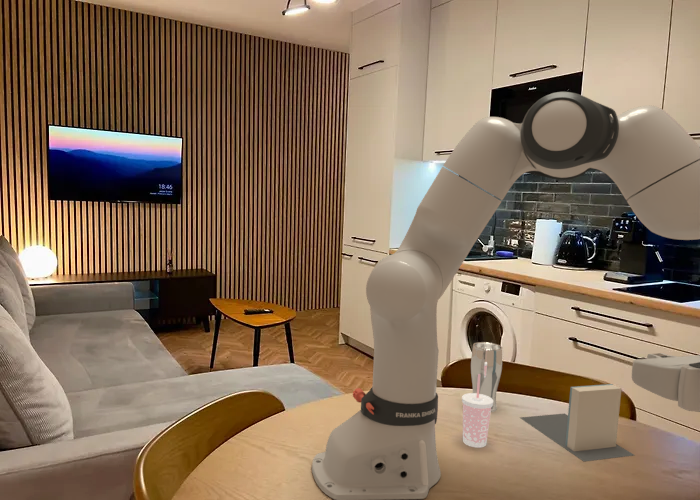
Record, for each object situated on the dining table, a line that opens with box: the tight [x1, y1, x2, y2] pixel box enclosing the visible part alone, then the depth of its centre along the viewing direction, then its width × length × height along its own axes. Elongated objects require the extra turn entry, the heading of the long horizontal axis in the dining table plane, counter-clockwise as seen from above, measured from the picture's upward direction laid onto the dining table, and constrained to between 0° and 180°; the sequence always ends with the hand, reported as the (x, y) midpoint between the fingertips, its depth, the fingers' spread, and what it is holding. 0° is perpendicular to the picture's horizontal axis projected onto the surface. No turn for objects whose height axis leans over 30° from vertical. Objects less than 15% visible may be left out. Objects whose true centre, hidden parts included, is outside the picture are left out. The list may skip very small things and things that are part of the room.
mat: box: [519, 413, 635, 463], centre depth 108 cm, size 12×20×1 cm, turn 17°
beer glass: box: [470, 341, 503, 413], centre depth 120 cm, size 7×7×15 cm
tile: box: [565, 383, 622, 451], centre depth 102 cm, size 10×2×12 cm, turn 107°
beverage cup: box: [461, 374, 493, 448], centre depth 103 cm, size 6×6×14 cm
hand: (653, 357), depth 89 cm, fingers closed
